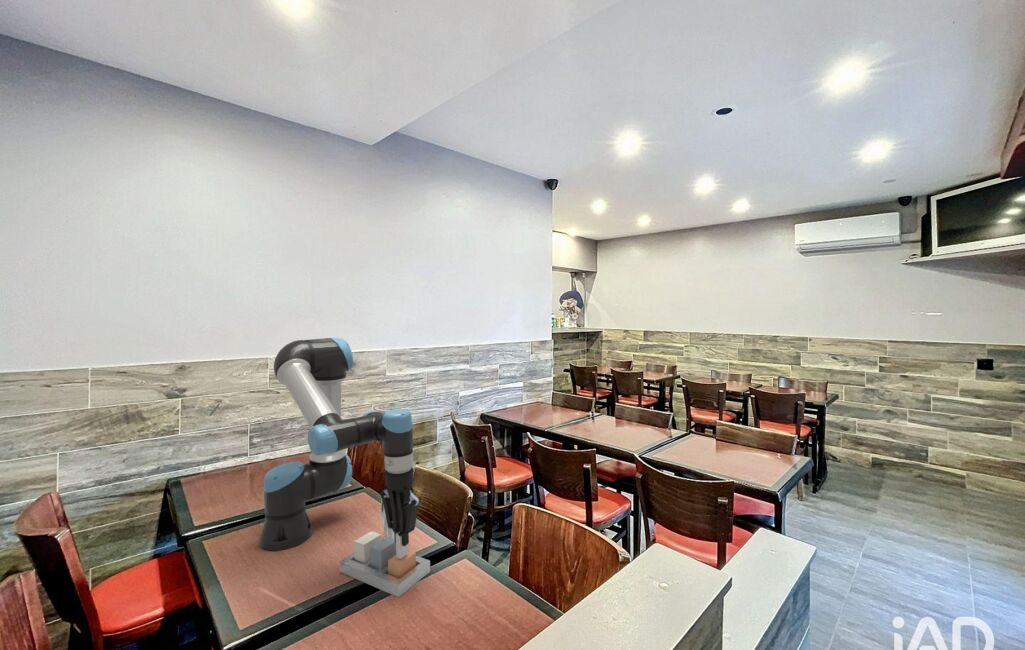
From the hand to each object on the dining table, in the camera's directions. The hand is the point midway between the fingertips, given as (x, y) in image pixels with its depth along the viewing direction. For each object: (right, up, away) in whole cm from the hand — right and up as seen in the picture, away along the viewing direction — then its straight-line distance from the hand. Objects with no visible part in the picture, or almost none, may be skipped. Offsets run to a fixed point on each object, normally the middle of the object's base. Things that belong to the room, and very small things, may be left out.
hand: (402, 555), depth 114 cm
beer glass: (-8, -7, +19) cm, 22 cm away
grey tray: (-6, -7, +4) cm, 10 cm away
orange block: (0, -5, 0) cm, 5 cm away
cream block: (-11, -4, +7) cm, 14 cm away
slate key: (-6, -3, +3) cm, 8 cm away
